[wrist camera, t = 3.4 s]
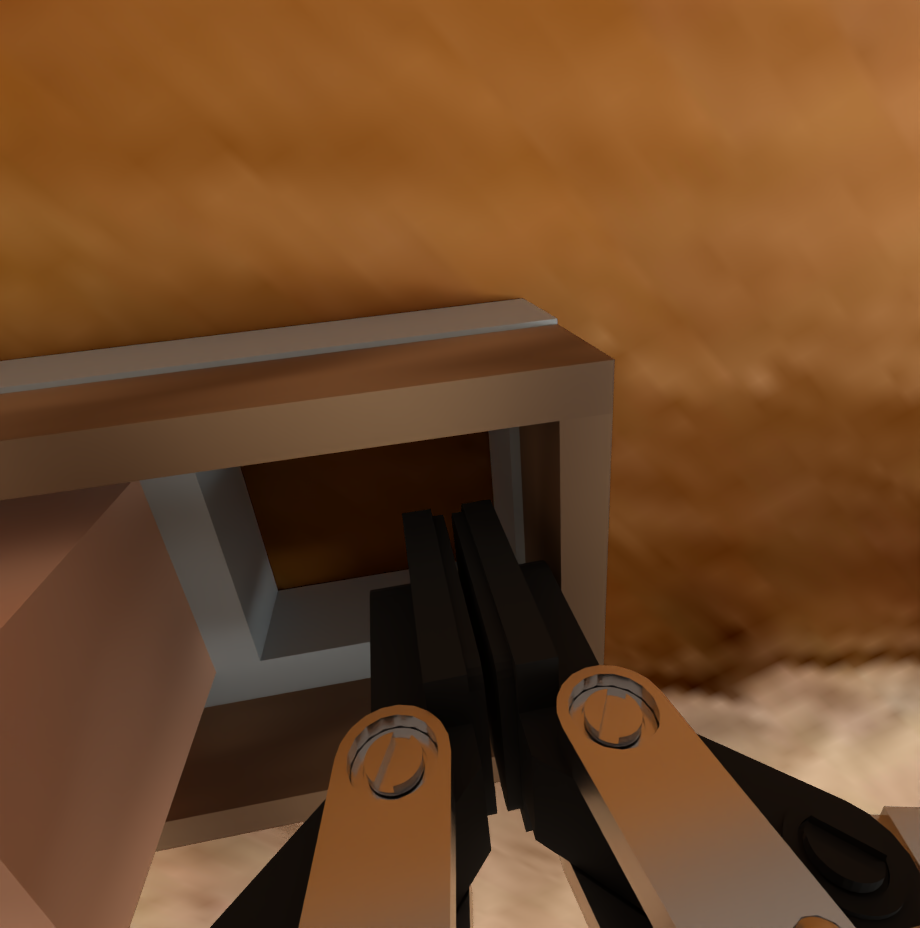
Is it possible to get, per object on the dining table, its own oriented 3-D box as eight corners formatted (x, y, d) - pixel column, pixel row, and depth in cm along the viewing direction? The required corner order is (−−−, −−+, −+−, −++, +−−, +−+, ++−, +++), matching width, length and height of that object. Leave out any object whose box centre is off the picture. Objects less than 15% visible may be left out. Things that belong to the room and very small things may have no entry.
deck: (523, 298, 12) (557, 318, 10) (534, 604, 16) (561, 669, 14) (-628, 436, 10) (-917, 502, 8) (-294, 748, 14) (-422, 852, 12)
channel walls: (557, 324, 10) (614, 359, 7) (561, 666, 14) (600, 761, 11) (-261, 425, 9) (-498, 506, 6) (-7, 771, 12) (-95, 902, 10)
